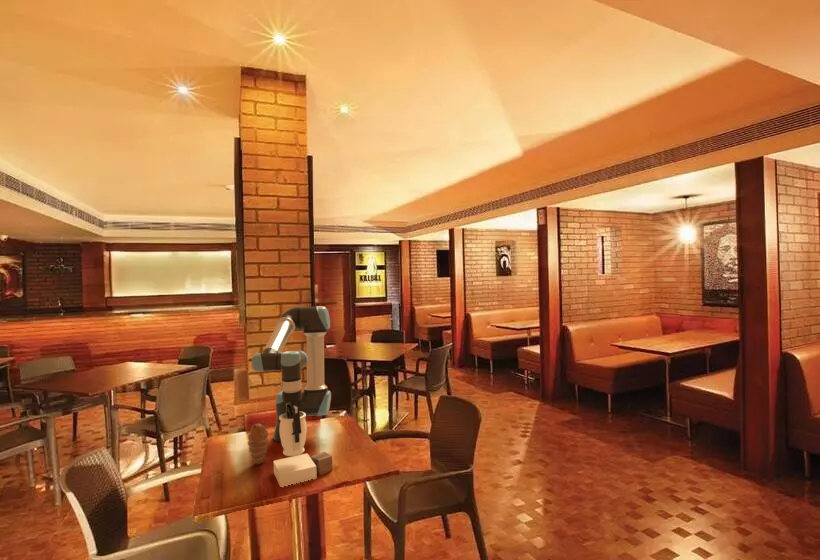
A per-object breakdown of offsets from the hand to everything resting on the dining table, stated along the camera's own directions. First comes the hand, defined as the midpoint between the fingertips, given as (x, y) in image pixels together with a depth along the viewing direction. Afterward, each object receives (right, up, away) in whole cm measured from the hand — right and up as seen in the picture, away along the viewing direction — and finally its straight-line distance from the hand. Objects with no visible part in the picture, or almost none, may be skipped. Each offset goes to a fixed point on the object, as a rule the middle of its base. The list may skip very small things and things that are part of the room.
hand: (293, 445), depth 174 cm
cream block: (0, -12, 0) cm, 12 cm away
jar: (0, -3, 0) cm, 3 cm away
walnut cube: (+11, -12, +5) cm, 17 cm away
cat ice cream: (-18, -13, +12) cm, 25 cm away
